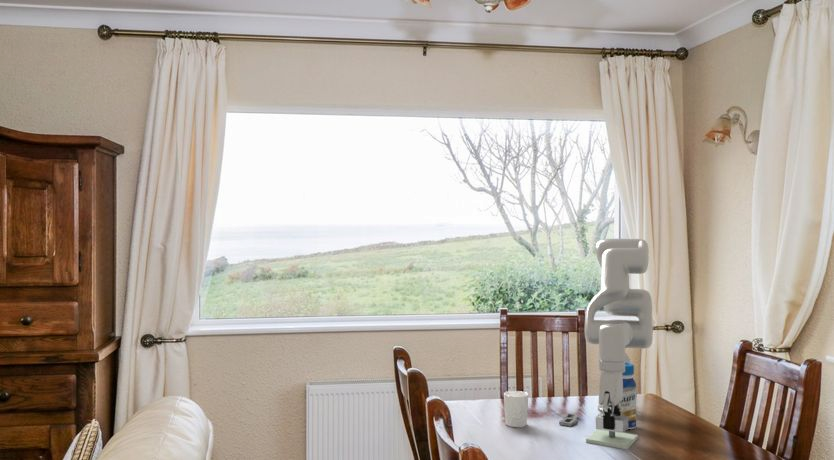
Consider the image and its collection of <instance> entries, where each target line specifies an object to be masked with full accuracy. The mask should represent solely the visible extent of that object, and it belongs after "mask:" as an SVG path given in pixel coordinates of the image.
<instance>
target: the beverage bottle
mask: <svg viewBox="0 0 834 460" xmlns="http://www.w3.org/2000/svg"><path fill="white" fill-rule="evenodd" d="M634 374H635V365H634V364H632V363H631V364H630V363H625V372H624V373H622V376H623V399H622V401H621V402H620V406H621V410H620V411H621V415H622V416H628V429H630V430H634V429H636V428H637V397H638V392H637V391H636V389H637V383H636V381H635V379H634V377H633V376H634ZM610 410H611V408H610ZM628 429H627V430H626V431H629V430H628Z"/></svg>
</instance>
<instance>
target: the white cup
mask: <svg viewBox="0 0 834 460" xmlns="http://www.w3.org/2000/svg"><path fill="white" fill-rule="evenodd" d="M503 403H504V404H503V408H504V416H505V425H506V426H507V427H511V428H523V427H526V426H527V423H528V422H527V421H528V420H527V419H528V408H529V393H528V392H525V391H522V390H521V391H520V390H509V391H505V392H503Z"/></svg>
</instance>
